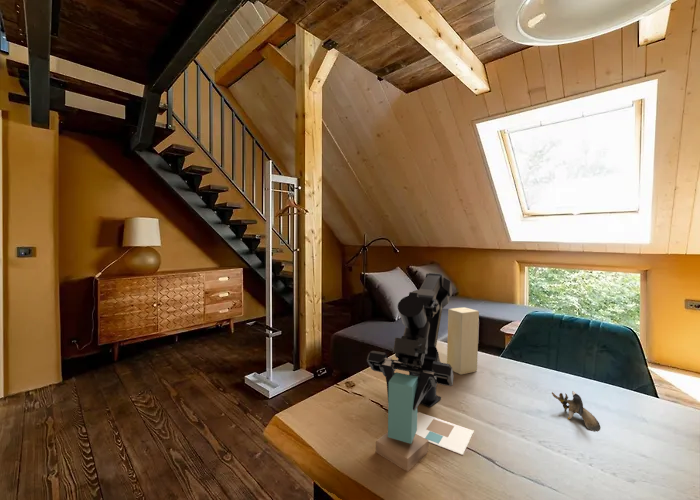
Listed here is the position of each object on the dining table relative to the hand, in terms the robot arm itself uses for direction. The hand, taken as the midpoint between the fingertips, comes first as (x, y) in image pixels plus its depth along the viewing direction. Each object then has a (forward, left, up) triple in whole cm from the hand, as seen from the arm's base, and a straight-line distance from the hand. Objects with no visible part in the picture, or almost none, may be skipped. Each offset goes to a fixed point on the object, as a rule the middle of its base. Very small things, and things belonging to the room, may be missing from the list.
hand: (401, 406), depth 67 cm
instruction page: (-13, +2, -11) cm, 17 cm away
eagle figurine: (-43, +24, -11) cm, 51 cm away
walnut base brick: (-1, 0, -11) cm, 11 cm away
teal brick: (-1, 0, -7) cm, 7 cm away
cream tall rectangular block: (-51, -10, -11) cm, 53 cm away
